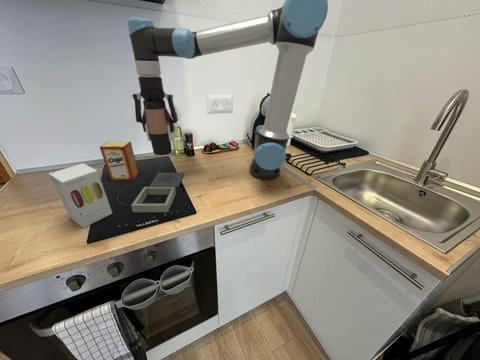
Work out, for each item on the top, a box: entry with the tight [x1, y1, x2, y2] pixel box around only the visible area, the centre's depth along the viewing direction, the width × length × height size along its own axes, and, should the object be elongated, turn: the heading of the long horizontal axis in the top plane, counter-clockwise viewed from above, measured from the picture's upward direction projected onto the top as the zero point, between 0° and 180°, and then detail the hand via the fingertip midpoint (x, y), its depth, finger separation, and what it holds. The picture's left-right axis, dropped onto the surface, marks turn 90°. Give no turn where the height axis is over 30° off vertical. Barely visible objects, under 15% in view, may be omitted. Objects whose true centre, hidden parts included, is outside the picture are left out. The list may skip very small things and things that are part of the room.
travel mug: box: [142, 99, 173, 156], centre depth 77 cm, size 8×8×20 cm
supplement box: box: [48, 163, 113, 229], centre depth 63 cm, size 10×9×17 cm
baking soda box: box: [99, 140, 139, 181], centre depth 86 cm, size 10×6×16 cm
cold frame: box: [131, 186, 177, 213], centre depth 74 cm, size 12×12×3 cm
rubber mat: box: [149, 172, 185, 188], centre depth 89 cm, size 12×12×1 cm
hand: (160, 139), depth 79 cm, fingers closed on travel mug, 8 cm apart
